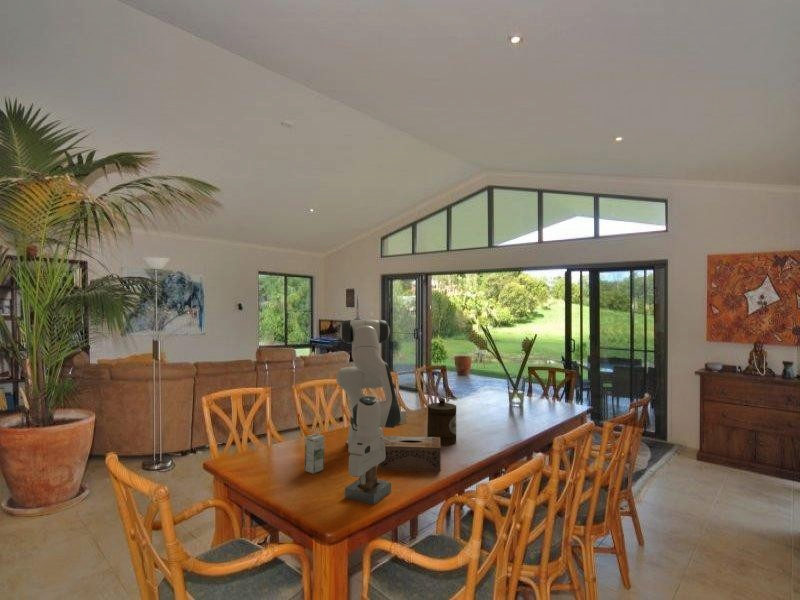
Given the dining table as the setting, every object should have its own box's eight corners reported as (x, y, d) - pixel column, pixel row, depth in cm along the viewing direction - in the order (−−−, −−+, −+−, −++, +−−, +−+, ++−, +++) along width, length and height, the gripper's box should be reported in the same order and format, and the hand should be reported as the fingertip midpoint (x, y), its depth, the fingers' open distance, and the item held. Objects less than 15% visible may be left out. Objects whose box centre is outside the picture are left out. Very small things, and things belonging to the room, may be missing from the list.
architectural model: (395, 424, 252) (395, 411, 252) (402, 421, 258) (402, 409, 258) (400, 425, 250) (400, 412, 251) (407, 422, 256) (407, 410, 256)
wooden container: (458, 445, 212) (458, 401, 213) (428, 445, 212) (428, 401, 213) (454, 436, 227) (454, 395, 227) (426, 436, 227) (426, 395, 227)
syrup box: (315, 467, 184) (315, 432, 184) (324, 470, 180) (324, 435, 180) (304, 470, 179) (304, 436, 179) (313, 474, 175) (313, 438, 176)
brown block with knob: (366, 485, 160) (366, 462, 160) (376, 488, 158) (377, 464, 158) (359, 490, 156) (359, 466, 156) (370, 492, 154) (370, 468, 154)
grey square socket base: (363, 485, 165) (363, 475, 165) (391, 491, 159) (391, 481, 159) (344, 497, 154) (344, 487, 154) (373, 504, 148) (374, 494, 149)
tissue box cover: (440, 459, 194) (440, 437, 194) (440, 471, 180) (440, 447, 180) (383, 457, 196) (383, 435, 196) (379, 469, 182) (379, 445, 182)
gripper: (375, 433, 168) (375, 469, 168) (345, 449, 150) (345, 489, 149) (389, 436, 165) (389, 472, 165) (360, 452, 147) (360, 492, 147)
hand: (368, 480), depth 157 cm, fingers closed on brown block with knob, 5 cm apart
